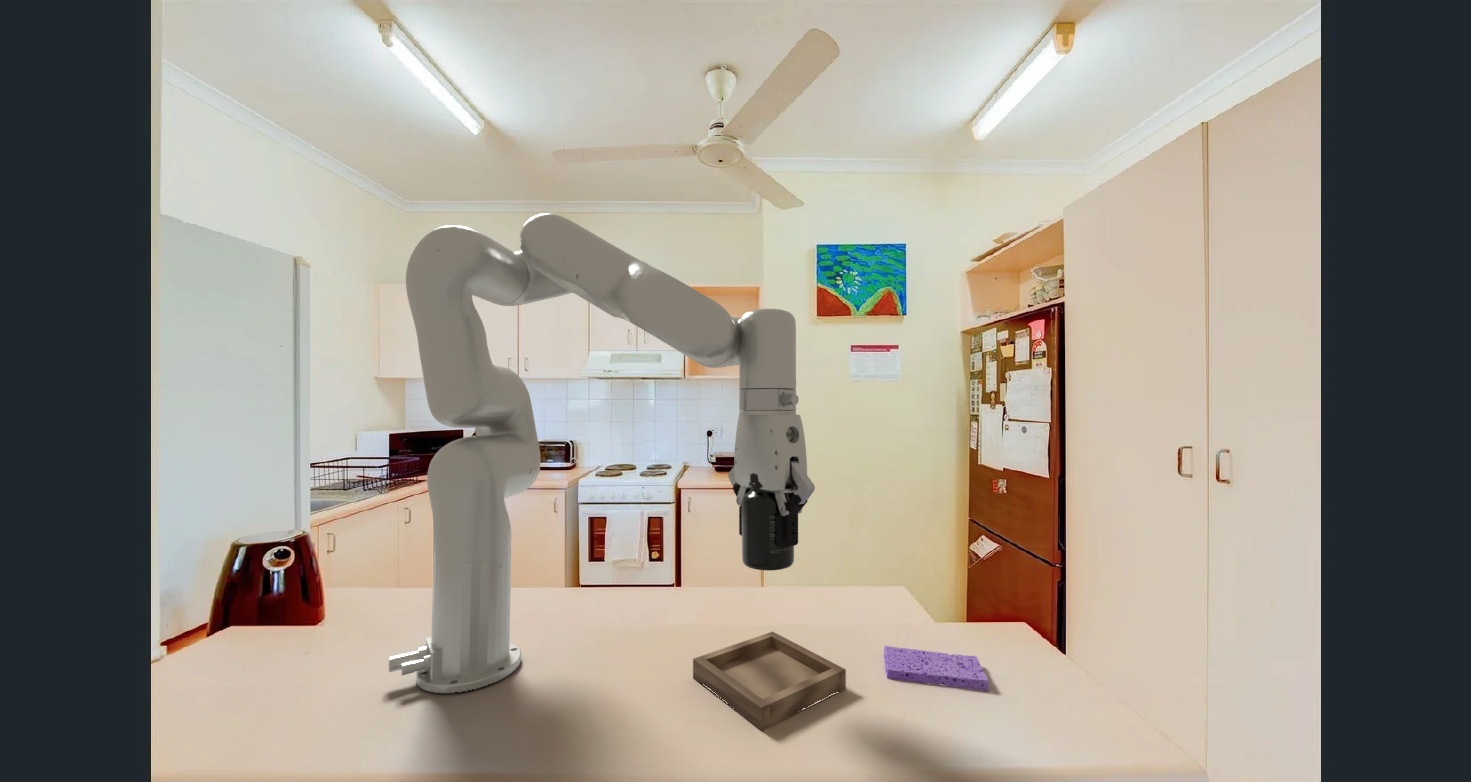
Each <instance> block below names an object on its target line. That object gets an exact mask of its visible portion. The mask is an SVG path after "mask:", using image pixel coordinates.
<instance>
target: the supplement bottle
mask: <svg viewBox="0 0 1471 782" xmlns="http://www.w3.org/2000/svg"><path fill="white" fill-rule="evenodd" d="M749 486H751V490H750V491H748V492H747V493H746V494H745V495H744V496H743V498H742V536H741V552H742V553H741V556H742V557H741V558H742V560H741V561H742V563H743V564H744V566H745V567H748V568H749V569H753V570H758V571H768V572H769V571H779V570H784V569H788V568H790V567H791V566H793V564H794V562H795V545H794V546H790V547H785V548H779V547H777V545H776V517H777V515H781V514H780V511H779V507H778V504H777V501H776V498H775V495H774V493H771V492H766V491H764V490H762V489H760V488H763V487H762V484H760V481H758V475H757V474H755V473H752V475H751V473H750V483H749ZM785 498H786V501H787V502H788V501H789V496H788V495H786V496H785Z"/></svg>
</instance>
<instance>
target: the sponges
mask: <svg viewBox="0 0 1471 782" xmlns="http://www.w3.org/2000/svg"><path fill="white" fill-rule="evenodd" d="M883 659H885V660H884V666H885V674H886V679H887V680H890V679H891V680H897V681H906V682H913V683H921V684H922V683H923V684H928V683H935V684H934V685H936V684H941V685H940V686H943V685H946V686H945V687H952V688H953V687H954V688H958V689H959V688H960V689H967V690H975V691H982V692H989V678H988V677H987V675H986V673H985V671H984V668H983V667H982V666H983V665H981V663H980V660H979V659H978V657H977V656H976V655H965V654H956V653H954V654H949V653H946V652H945V653H944V652H941V651H932V650H931V651H930V650H924V649H916V648H915V649H913V648H907V647H895V646H891V645H884V646H883ZM942 684H943V685H942Z"/></svg>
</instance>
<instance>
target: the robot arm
mask: <svg viewBox="0 0 1471 782" xmlns="http://www.w3.org/2000/svg"><path fill="white" fill-rule="evenodd" d="M519 247H520V251H515V252H514V251H512V250H511V249H509V248H507V247H506V246H504V245H503V244H501V243H499V242H498V241H496V240H495V239H494V238H491V237H489V235H487V234H485V233H482V232H480V231H477V230H475V229H473V228H470V227H467V226H462V225H458V224H457V225H450V224H449V225H444V226H439V227H437V228H434V229H432V230H431V231H430V232H429V233H427V234H426V235H424V236H423V237H422V238H421V239H420V241H419V242H418V243H417V244H416V246H415V247H414V249H413V251H412V253H411V254H410V257H409V260H408V263H407V265H406V271H405V272H406V273H405V288H406V290H405V291H406V295H407V300H408V304H409V308H410V312H411V315H412V320H413V324H414V327H415V333H416V338H417V344H418V345H417V346H418V352H419V358H420V364H421V370H422V371H421V373H422V376H423V383H424V389H425V394H426V395H425V396H426V399H427V405H428V408H429V411H430V413H431V415H432V417H433V418H434V419H435V420H436V422H438V423H439V424H441V425H443V426H446V427H449V428H457V429H458V428H459V429H460V428H461V429H462V428H463V429H467V428H468V429H470V428H474V430H475V436H474V435H473V436H467V437H462V438H458V439H455V440H452V441H450V442H449V443H446V444H445V445H444V446H443V447H441V448H440V449H439V450H438V451H437V452H436V453H435V454H434V456H433V457H432V459H431V460H430V463H429V466H428V470H427V476H426V477H427V478H426V481H427V489H428V491H427V492H428V496H429V501H430V502H429V503H430V507H431V514H432V523H433V527H432V528H433V552H432V553H433V555H432V556H433V557H432V559H433V568H432V569H433V573H432V576H433V577H432V602H431V603H432V604H431V605H432V606H431V607H432V609H431V613H432V614H431V636H429V637H426V638H425V645H421V646H418V647H417V649H416V650H413V651H409V652H402V653H397V654H393V655H389V656H388V673H392V672H396V671H400V673H401V676H406V675H409V674H413V673H415V672H416V676H415V678H416V679H415V681H416V684H417V686H418V687H420V689H422V690H424V691H427V692H430V693H434V694H456V693H455V692H458V693H463V691H465V692H469V691H468V690H470V691H473V690H472V689H474V690H477V688H478V689H481V688H483V687H482V686H485V687H487V686H489V685H488V684H490V685H492V683H493V684H495V683H497V682H500V681H501V680H503V679H505V678H507V677H508V676H509V675H511V674H512V673H513V672H514V671H515V670H516V669H517V668H518V667H519V666H520V663H521V661H522V652H521V651H522V650H521V649H520V647H519V646H518V645H516V644H514V643H512V642H510V639H511V638H510V635H511V634H510V631H511V626H510V625H511V593H512V592H511V590H512V589H511V588H512V586H511V585H512V584H511V583H512V582H511V581H512V579H511V578H512V527H511V521H510V516H509V513H508V510H507V506H506V501H505V499H506V498H509V497H512V496H515V495H517V494H520V493H523V492H524V491H526V490H527V489H529V488H530V487H531V486H532V485H533V484H534V483H535V481H536V480H537V478H538V476H539V474H540V469H541V461H542V460H541V451H540V444H539V438H538V433H537V432H538V431H537V427H536V422H535V417H534V410H533V405H532V401H531V396H530V391H528V388H527V386H526V384H525V382H524V380H523V379H522V378H521V377H520V376H519V375H518V374H517V373H516V372H515V371H513V370H511V369H510V368H507V367H504V366H500V365H496V364H493V361H492V359H491V354H490V351H489V347H488V342H487V341H488V340H487V333H486V329H485V326H484V323H483V321H482V318H481V316H480V314H479V312H478V310H477V308H476V306H475V304H474V301H473V296H474V297H475V298H476V297H477V298H479V299H482V300H484V301H486V302H489V303H492V304H495V305H499V306H503V307H504V306H505V307H514V306H515V307H516V306H522V305H527V304H530V303H535V302H540V301H544V300H549V299H553V298H557V297H562V296H566V295H570V294H575V295H576V296H578V297H579V298H582V299H583V300H584V301H587V302H588V303H590V304H591V305H593V306H595V307H597V308H598V309H600V310H602V312H605V314H608V315H610V316H611V317H613V318H619V319H622V320H623V321H624V320H625V321H627V322H628V323H630V324H632V325H633V326H636V327H637V328H639V329H641V330H642V331H645V332H646V333H648V334H649V335H652V336H653V337H654V338H657V340H660V341H661V342H663V343H664V344H666V345H668V346H670V347H671V348H673V349H674V350H676V351H678V352H679V353H681V354H683V355H684V356H686V357H687V358H689V359H691V360H693V361H694V362H696V363H697V364H698V365H700V366H703V367H705V368H710V369H711V368H712V369H717V368H718V369H720V368H726V367H732V366H733V367H734V366H739V368H738V369H739V374H738V375H739V380H738V381H739V382H738V383H739V384H738V385H739V388H738V389H739V391H738V392H739V393H738V394H739V398H738V399H739V400H738V401H739V403H738V405H739V407H738V408H739V409H738V410H739V412H738V413H739V414H738V418H737V424H736V431H735V442H734V456H733V457H734V460H733V462H734V465H733V467H732V468H731V469H730V471H729V472H728V474H727V476H728V479H729V481H730V484H731V486H732V490H733V493H734V494H735V496H736V504H737V506H739V509H738V513H739V514H738V520H739V521H738V530H739V531H738V534H739V536H741V537H742V498H743V496H744V495H745V494H746V493H747V492H748V491H750V490H751V486H749V483H750V473H751V475H752V473H755V474H757V475H758V481H760V484H762V487H763V488H760V489H762V490H764V491H766V492H771V493H774V495H775V498H776V501H777V504H778V507H779V511H780V514H781V515H777V517H776V545H777V547H779V548H785V547H790V546H794V547H795V546H797V545H798V544H799V514H802V513H803V508H804V507H805V506H806V504H807V503H808V502H809V501H808V500H809V499H810V497H811V496H812V494H813V493H814V491H815V489H816V486H815V484H814V482H813V481H812V480H811V478H810V477H809V476H808V462H807V461H808V459H807V447H806V438H805V431H804V427H803V421H802V418H801V414H797V405H798V403H799V396H798V395H797V326H796V324H797V323H796V318H795V316H794V315H793V313H791V312H790V311H787V310H785V309H779V308H759V309H753V310H749V311H747V312H745V313H744V314H742V316H741V317H733V316H731V314H730V313H729V311H727V309H726V308H725V307H724V306H722V305H721V304H719V303H718V302H717V301H715V300H713V299H712V298H710V297H709V296H707V295H705V294H704V293H701V292H700V291H698V290H696V289H695V288H694V287H691V286H689V284H686V283H685V282H682V281H681V280H679V279H678V278H675V277H674V276H672V275H670V274H668V273H666V272H664V271H662V270H660V269H658V268H656V267H654V266H652V265H650V264H648V263H647V262H646V261H643V260H640V259H638V258H636V257H635V256H633V255H631V254H630V253H627V252H626V251H624V250H623V249H620V248H619V247H616V246H615V245H614V244H612V243H610V242H609V241H607V240H606V239H603V238H601V237H600V236H598V235H596V234H595V233H593V232H592V231H589V230H588V229H586V228H584V227H582V226H581V225H580V224H578V223H576V222H574V221H572V220H570V219H569V218H567V217H564V216H563V215H559V214H555V213H548V212H546V213H539V214H537V215H534V216H532V217H530V218H529V219H528V220H527V221H526V222H525V223H524V224H523V226H522V228H521V230H520V234H519ZM786 495H788V496H789V501H788V502H787V501H786V498H785V496H786ZM486 685H487V686H486ZM480 687H481V688H480Z"/></svg>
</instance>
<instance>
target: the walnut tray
mask: <svg viewBox="0 0 1471 782" xmlns="http://www.w3.org/2000/svg"><path fill="white" fill-rule="evenodd" d="M846 673H847V670H846V668H844V667H843V666H841V665H838V664H836V663H834V662H832V661H830V660H829V659H826V658H825V657H822V655H821V656H820V655H819V654H817V653H816V652H813V651H811V650H809V649H807V648H805V647H803V646H801V645H799V644H798V643H796V642H794V641H792V640H790V639H788V638H786V637H785V636H782V635H780V634H778V633H776V632H775V631H770V632H768V633H764V634H761V635H759V636H755V637H753V638H749V639H747V640H743V641H741V642H737V643H735V644H732V645H730V646H729V645H728V646H727V647H723V648H720V649H718V650H715V651H712V652H709V653H706V654H703V655H700V656H697V657H694V658H693V659H692V678H693V679H694V680H695V681H696V682H697V683H699V682H700V683H702V684H704V685H705V686H707V687H708V688H710V689H711V690H712V691H713V692H715V693H716V694H717V695H718V696H719V697H721V698H722V699H723V700H725V701H726V702H727V703H728V704H729V705H730V706H731V707H732V708H734V709H735V710H736V711H737V712H738V713H737V712H736V711H735V710H734V709H733V710H734V711H735V712H736V713H737V714H738V715H740V716H741V717H743V718H744V719H745V720H746V721H748V722H749V723H750V724H751V725H753V726H754V727H756V728H757V729H758V730H759V731H760V732H762V731H764V730H767V729H768V728H771V727H772V726H775V725H776V724H779V723H780V722H783V721H785V720H787V719H789V718H791V717H794V716H795V715H797V714H799V713H800V712H799V711H801V710H802V709H803V708H807V707H808V706H810V705H812V704H814V703H815V702H817V701H819V700H822V699H824V698H826V697H828V696H829V695H831V694H833V693H836V692H840V691H841V690H844V689H845V688H846V687H847V686H846V685H847V683H846V682H847V679H846V678H847V676H846V675H847V674H846ZM700 683H699V684H700ZM846 689H847V688H846ZM844 691H845V690H844ZM840 693H841V692H840ZM730 706H729V707H730ZM731 707H730V708H731ZM732 708H731V709H732ZM807 709H808V708H807ZM798 712H799V713H798ZM801 712H802V711H801ZM794 714H795V715H794ZM790 716H791V717H790Z"/></svg>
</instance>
